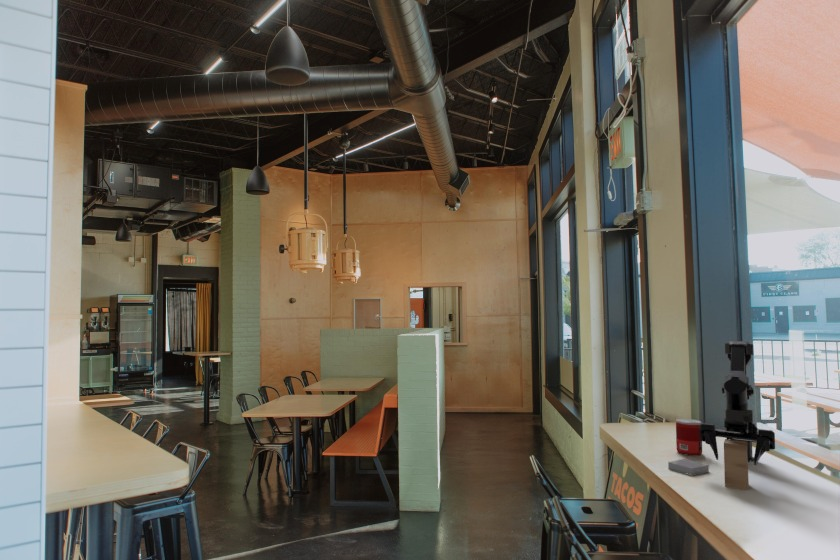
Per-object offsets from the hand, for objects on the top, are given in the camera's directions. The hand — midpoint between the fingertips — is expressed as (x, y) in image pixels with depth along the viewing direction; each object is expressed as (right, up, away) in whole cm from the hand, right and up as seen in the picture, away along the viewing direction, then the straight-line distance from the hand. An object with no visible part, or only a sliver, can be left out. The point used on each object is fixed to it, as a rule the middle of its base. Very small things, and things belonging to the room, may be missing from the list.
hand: (735, 461), depth 152 cm
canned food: (+5, -9, +36) cm, 38 cm away
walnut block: (+1, -7, +1) cm, 7 cm away
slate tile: (-6, -8, +15) cm, 18 cm away
